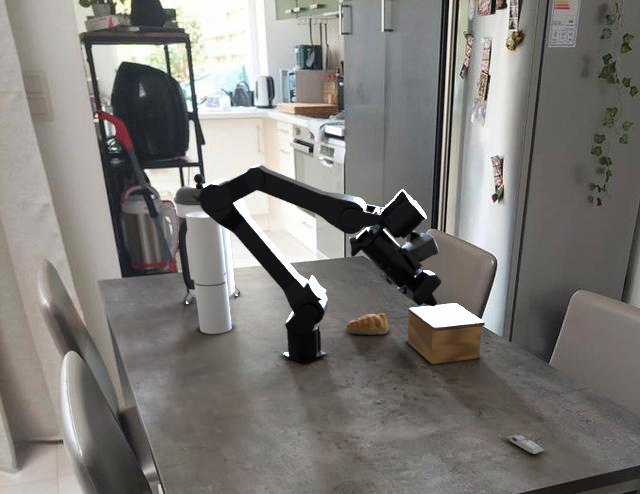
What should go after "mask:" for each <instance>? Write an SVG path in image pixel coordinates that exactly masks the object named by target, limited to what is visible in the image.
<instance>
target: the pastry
mask: <svg viewBox="0 0 640 494" xmlns="http://www.w3.org/2000/svg"><path fill="white" fill-rule="evenodd" d="M345 328H346V330H347V332H349V333H352V334H354V335H364V336H365V335H369V336H373V335H374V336H376V335H385V334H387V333H388V332H389V323H388V320H387V316H386V314H385V313H382V312H380V313H379V314H377V313H370V314H369V313H368V314H366V315H362V316H360V317H356V318H354V319H351V320H348V322H347V324H346V327H345Z"/></svg>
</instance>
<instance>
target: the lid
mask: <svg viewBox="0 0 640 494" xmlns="http://www.w3.org/2000/svg"><path fill="white" fill-rule="evenodd" d="M407 311H408V312H410V313H411V314H412V315H413V316H415V317H416V318H417V319H419V320H420V321H421V322H422V323H424V324H425V325H426V326H428V327H429V328H430V329H431V330H433V331H443V330H452V329H461V328H470V327H479V326H482V327H485V325H486V322H485V321H484V320H482V319H481V318H479V317H478V316H476V315H475V314H473V313H471V312H470V311H468V310H467V309H465V307H463V306H461V305H459V304H458V303H445V304H436V305H435V306H434V307H432V306H429V305H427V306H415V307H408V309H407ZM408 312H407V313H408Z"/></svg>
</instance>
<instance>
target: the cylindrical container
mask: <svg viewBox="0 0 640 494" xmlns="http://www.w3.org/2000/svg"><path fill="white" fill-rule="evenodd" d="M186 221H187V229H188V237H189V245H190V253H191V261H192V269H193V277H194V285H195V292H196V298H195V300H196V309H197V315H198V323H199V324H198V325H199V330H200V332H201V333H204V334H209V335H219V334H224V333H227V332H229V331H231V330H232V319H231V309H230V298H229V297H230V296H228V288H227V278H226V268H225V258H224V248H223V238H222V229H221V225H220V224H218V223H217V222H216V221H215V220H213V219H212V218H211V217H210V216H209V215H207V214H206V213H205V212H204V211H199V212H191V213H188V214H186Z"/></svg>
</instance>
